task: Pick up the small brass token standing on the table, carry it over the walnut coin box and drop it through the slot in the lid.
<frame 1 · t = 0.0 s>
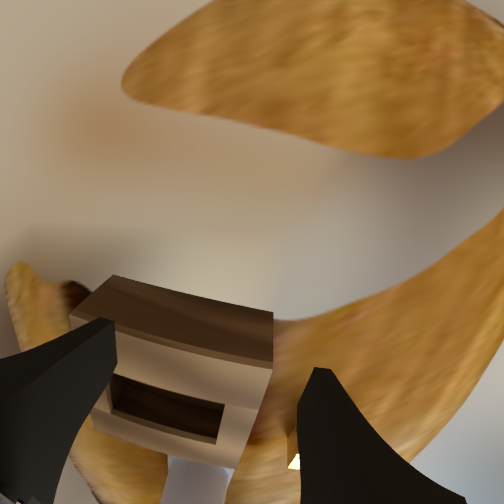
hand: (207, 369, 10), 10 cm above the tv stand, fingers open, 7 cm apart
coin box: (182, 357, 22), on the tv stand
token: (320, 431, 25), on the tv stand
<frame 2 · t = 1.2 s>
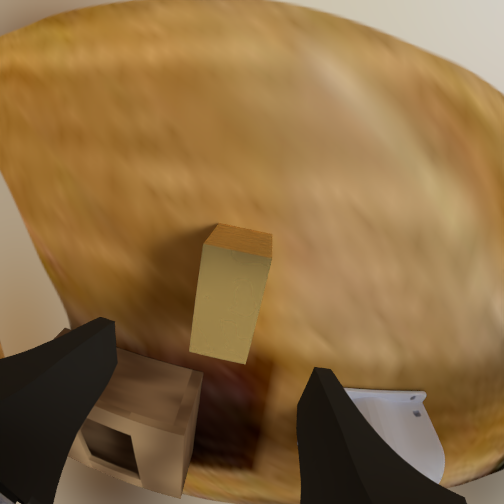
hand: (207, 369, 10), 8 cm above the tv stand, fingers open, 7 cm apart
coin box: (131, 400, 22), on the tv stand
token: (236, 276, 17), on the tv stand
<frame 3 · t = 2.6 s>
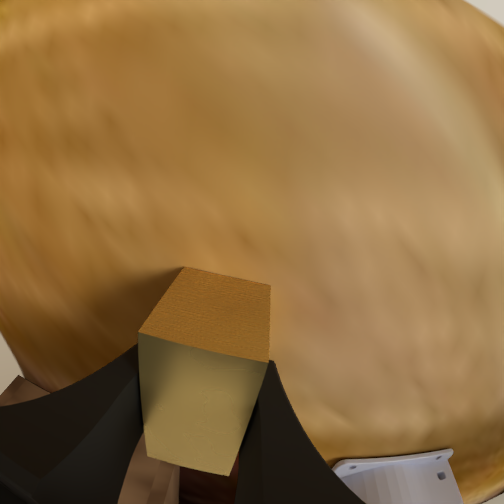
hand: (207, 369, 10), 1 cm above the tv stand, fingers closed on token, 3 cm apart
coin box: (102, 455, 15), on the tv stand
token: (214, 345, 11), on the tv stand, touching gripper
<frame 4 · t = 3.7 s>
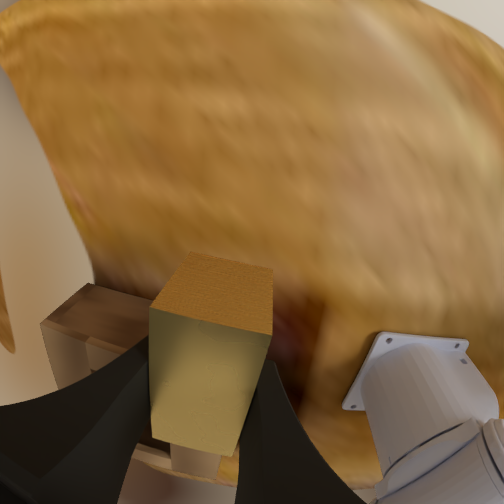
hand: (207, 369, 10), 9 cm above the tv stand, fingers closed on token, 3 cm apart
coin box: (159, 366, 21), on the tv stand
token: (218, 328, 11), point 7 cm above the tv stand, touching gripper
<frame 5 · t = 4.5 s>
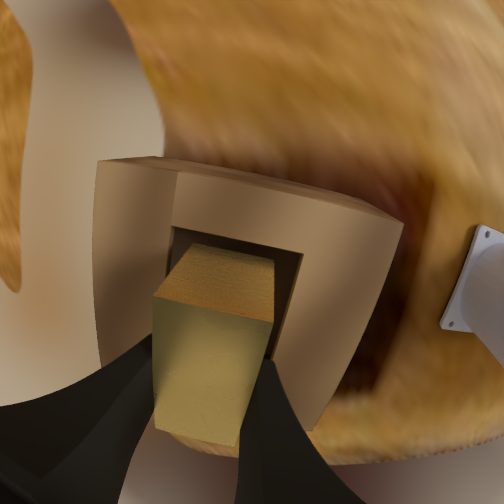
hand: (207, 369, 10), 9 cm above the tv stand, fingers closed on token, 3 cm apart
coin box: (236, 273, 18), on the tv stand
token: (220, 319, 12), point 6 cm above the tv stand, touching gripper
when the fingers open (8 cm above the tv stand, at t = 5.0 s): token drops 5 cm, resting on coin box.
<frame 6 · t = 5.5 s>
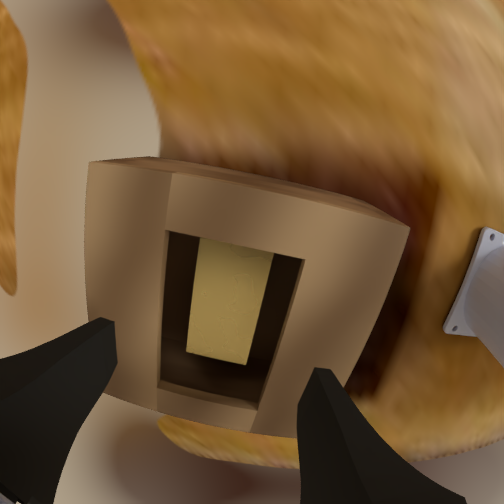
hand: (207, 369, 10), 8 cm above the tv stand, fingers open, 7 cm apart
coin box: (234, 277, 17), on the tv stand
token: (235, 272, 16), resting on coin box
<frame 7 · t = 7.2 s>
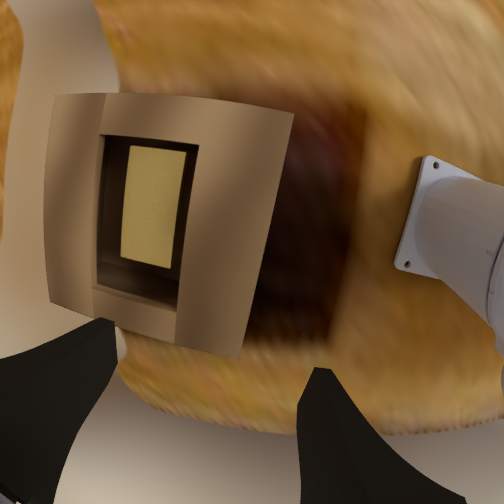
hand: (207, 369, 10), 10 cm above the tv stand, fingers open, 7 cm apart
coin box: (174, 202, 18), on the tv stand
token: (174, 195, 18), resting on coin box
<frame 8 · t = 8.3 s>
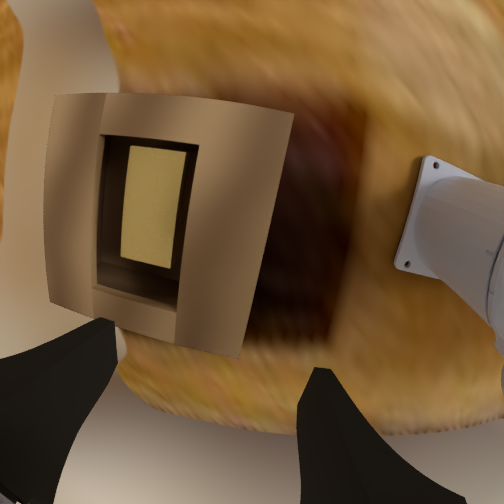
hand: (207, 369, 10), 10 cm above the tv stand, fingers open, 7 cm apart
coin box: (174, 202, 18), on the tv stand
token: (174, 195, 18), resting on coin box
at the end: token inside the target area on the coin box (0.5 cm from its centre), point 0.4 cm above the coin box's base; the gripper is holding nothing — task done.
